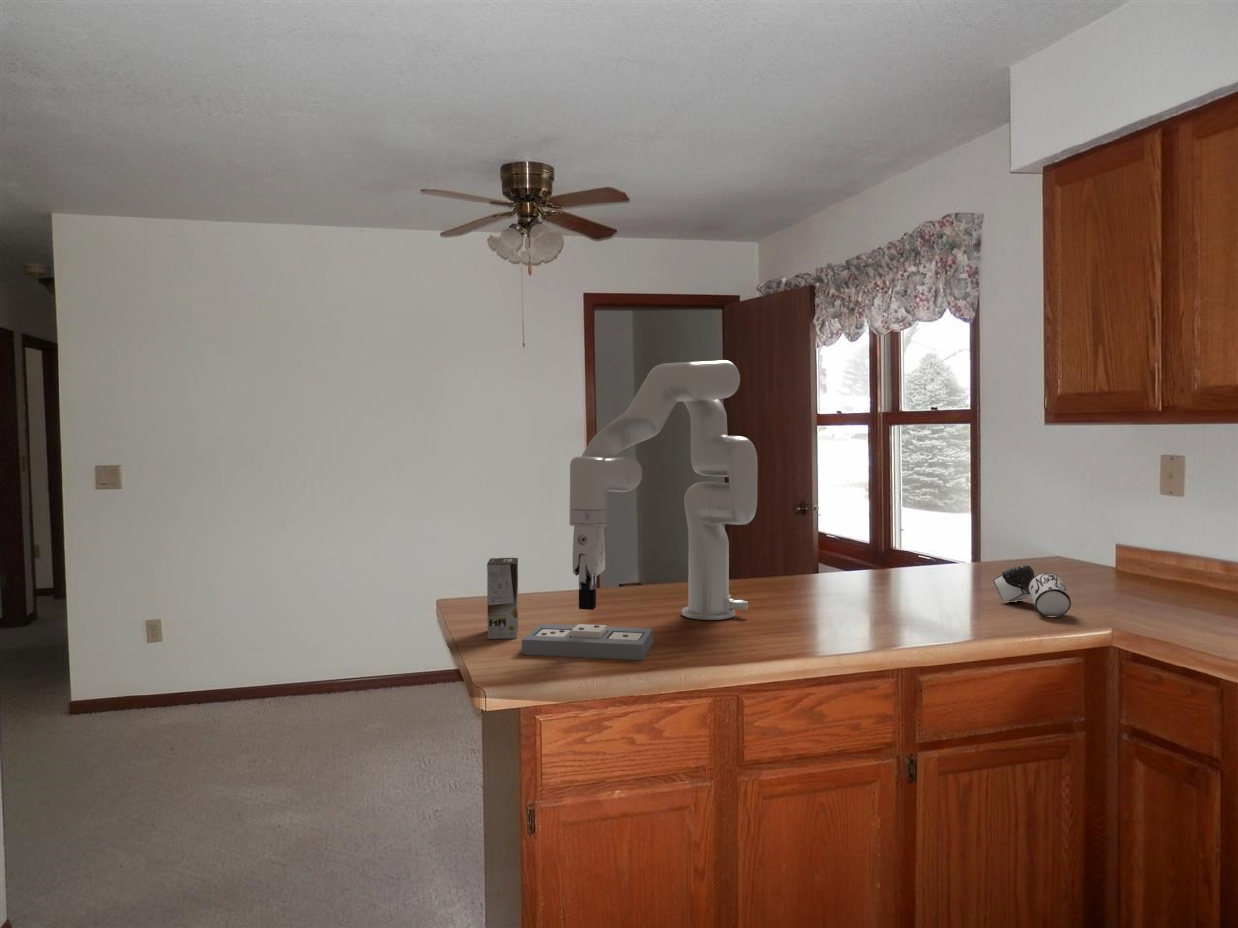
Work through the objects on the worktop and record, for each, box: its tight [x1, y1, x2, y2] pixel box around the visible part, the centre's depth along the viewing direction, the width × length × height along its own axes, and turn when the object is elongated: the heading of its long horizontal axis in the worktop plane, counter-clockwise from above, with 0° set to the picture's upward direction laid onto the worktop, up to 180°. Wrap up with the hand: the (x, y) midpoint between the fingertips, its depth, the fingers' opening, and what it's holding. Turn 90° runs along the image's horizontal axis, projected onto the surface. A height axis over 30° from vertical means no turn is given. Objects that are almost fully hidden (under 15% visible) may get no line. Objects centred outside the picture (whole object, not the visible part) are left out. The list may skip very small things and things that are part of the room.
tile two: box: [571, 623, 608, 638], centre depth 182 cm, size 6×6×2 cm
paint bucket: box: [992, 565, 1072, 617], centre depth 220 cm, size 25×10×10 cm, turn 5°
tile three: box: [535, 629, 571, 637], centre depth 184 cm, size 6×6×2 cm
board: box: [521, 623, 654, 661], centre depth 182 cm, size 24×14×3 cm, turn 79°
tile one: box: [608, 632, 643, 640], centre depth 181 cm, size 6×6×2 cm
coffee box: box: [486, 557, 519, 640], centre depth 195 cm, size 9×6×16 cm
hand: (587, 608), depth 182 cm, fingers closed
